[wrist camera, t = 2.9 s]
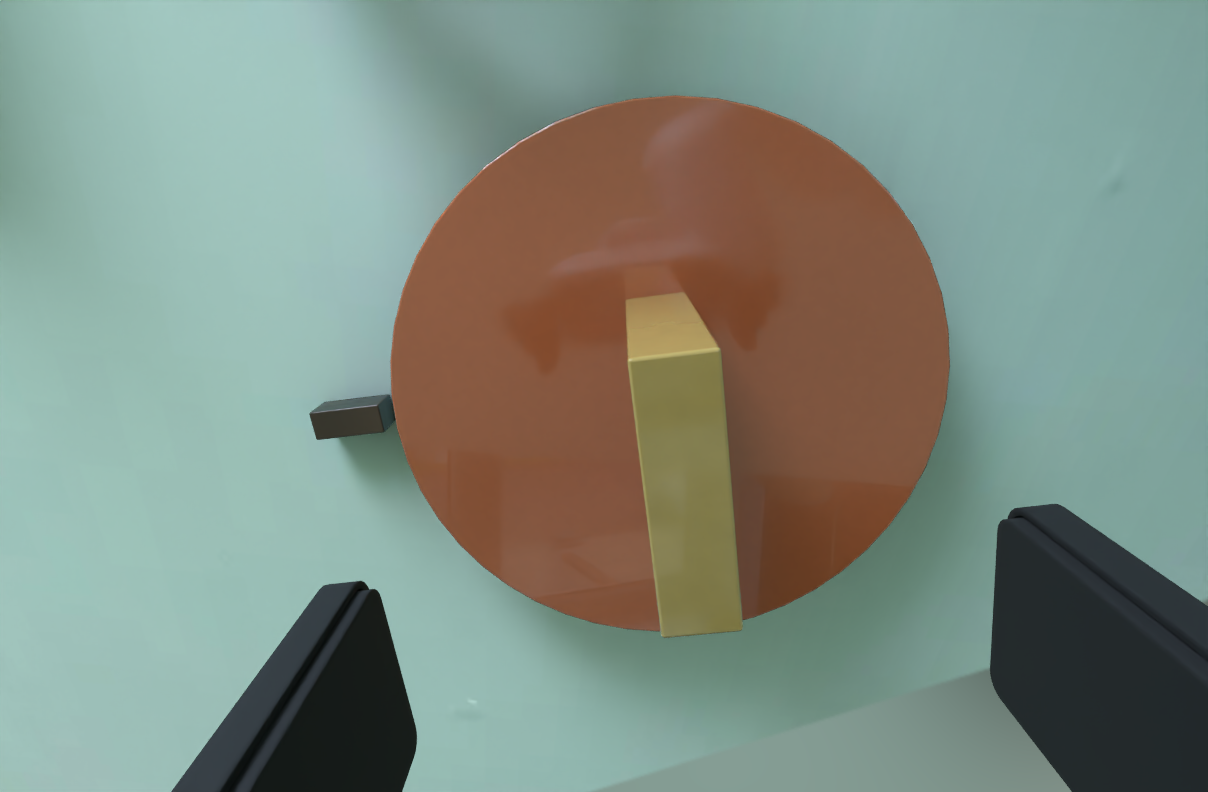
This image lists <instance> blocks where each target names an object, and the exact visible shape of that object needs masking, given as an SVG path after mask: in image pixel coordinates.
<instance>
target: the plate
mask: <svg viewBox="0 0 1208 792" xmlns="http://www.w3.org/2000/svg"><path fill="white" fill-rule="evenodd" d="M390 364H391V392H392V401H393V407H394V412H395V418H396V424H397V430H398V433H399V436H400V439H401V442H402V446H403V449H404V452H405V455H406V458H407V462H408V464H409V466H410V468H411V470H412V472H413V475H414V477H415V479H416V481H417V483H418V485H419V488H420V490H421V492H422V493H423V495H424V497H425V498H426V500H427V501H428V503H429V505H430V506H431V508H432V509H433V511H434V512H435V514H436V516H437V517H438V519H439V520H440V521H441V523H442V524H443V525H444V526H445V527H446V529H447V530H448V531H449V532H450V534H451V535H452V536H453V537H454V538H455V540H456V541H457V542H458V543H459V544H460V545H461V546H462V547H463V548H464V549H465V550H466V551H467V552H468V553H469V554H470V555H471V556H472V557H473V558H474V559H475V560H476V561H477V562H478V563H480V564H481V565H482V566H483V567H484V568H485V569H487V570H488V571H489V572H491V573H492V574H493V575H495V576H496V577H497V578H499V579H500V580H501V581H503V582H504V583H505V584H507V585H508V586H510V587H512V588H513V589H515V590H517V591H519V592H520V593H522V594H524V595H525V596H527V597H529V598H531V599H532V600H534V601H536V602H538V603H540V604H543V605H545V606H547V607H550V608H552V609H554V610H557V611H559V612H561V613H564V614H566V615H570V616H573V617H576V618H580V619H583V620H586V621H589V622H593V623H596V624H602V625H607V626H613V627H618V628H623V629H632V630H646V631H661V635H662V637H664V638H670V637H680V636H691V635H702V634H712V633H723V632H734V631H741V630H742V628H743V620H746V619H749V618H753V617H756V616H759V615H761V614H764V613H767V612H769V611H772V610H774V609H777V608H779V607H782V606H785V605H787V604H789V603H790V602H792V601H794V600H796V599H798V598H800V597H802V596H804V595H806V594H808V593H810V592H811V591H813V590H815V589H817V588H818V587H820V586H821V585H822V584H824V583H825V582H827V581H828V580H830V579H831V578H833V577H834V576H836V575H837V574H839V573H840V572H842V571H843V570H844V569H845V568H846V567H847V566H849V565H850V564H851V563H852V562H853V561H854V560H856V559H857V558H858V557H859V556H860V555H861V554H863V553H864V552H865V551H866V550H867V549H868V548H869V547H870V546H871V545H872V544H873V543H874V541H875V540H876V539H877V538H878V537H879V536H880V535H881V534H882V533H883V532H884V531H885V529H886V528H887V527H888V526H889V525H890V524H891V522H892V521H893V520H894V518H895V517H896V515H897V514H898V513H899V511H900V510H901V508H902V507H903V506H904V504H905V503H906V501H907V500H908V499H909V497H910V495H911V493H912V492H913V490H914V488H915V486H916V484H917V482H918V480H919V479H920V477H921V475H922V473H923V471H924V469H925V468H926V465H927V463H928V460H929V457H930V455H931V452H932V449H933V447H934V444H935V442H936V439H937V436H938V433H939V429H940V425H941V421H942V417H943V412H944V408H945V404H946V399H947V389H948V379H949V369H950V358H949V333H948V325H947V319H946V314H945V308H944V303H943V298H942V293H941V290H940V287H939V284H938V281H937V278H936V275H935V272H934V269H933V266H932V263H931V260H930V257H929V255H928V254H927V252H926V250H925V248H924V246H923V244H922V242H921V240H920V238H919V236H918V234H917V232H916V230H915V228H914V226H913V224H912V223H911V221H910V220H909V219H908V217H907V216H906V215H905V213H904V212H903V210H902V209H901V208H900V206H899V205H898V203H897V202H896V201H895V199H894V198H893V196H892V195H891V194H890V192H889V191H888V190H887V189H886V188H885V187H884V186H883V185H882V184H881V183H880V182H879V181H878V180H877V179H876V178H875V177H874V176H873V175H872V174H871V173H870V172H869V171H868V170H867V169H866V168H865V167H864V166H863V165H862V164H861V163H860V162H858V161H857V160H856V159H854V158H853V157H852V156H850V155H849V154H848V153H847V152H845V151H844V150H843V149H841V148H840V147H839V146H837V145H836V144H835V143H833V142H832V141H831V140H829V139H827V138H825V137H823V136H822V135H820V134H818V133H816V132H814V131H813V130H811V129H809V128H807V127H805V126H804V125H802V124H800V123H798V122H796V121H794V120H791V119H788V118H786V117H783V116H780V115H778V114H775V113H772V112H770V111H767V110H764V109H762V108H759V107H756V106H751V105H746V104H742V103H737V102H732V101H728V100H723V99H718V98H707V97H692V96H678V95H674V96H660V97H647V98H634V99H629V100H625V101H620V102H615V103H611V104H606V105H602V106H597V107H593V108H590V109H588V110H585V111H582V112H580V113H577V114H574V115H571V116H569V117H566V118H563V119H561V120H558V121H555V122H553V123H551V124H550V125H548V126H546V127H544V128H542V129H540V130H539V131H537V132H535V133H533V134H531V135H529V136H527V137H526V138H524V139H522V140H520V141H518V142H517V143H516V144H514V145H513V146H512V147H510V148H509V149H508V150H506V151H505V152H504V153H502V154H501V155H499V156H498V157H497V158H495V159H494V160H493V161H491V162H490V163H489V164H487V165H486V166H485V167H484V168H483V169H482V170H481V171H480V172H479V173H478V174H477V175H476V176H475V177H474V178H473V179H472V180H471V181H470V182H469V183H468V184H467V185H466V186H465V187H464V188H463V189H462V190H461V191H460V192H459V193H458V194H457V195H456V196H455V198H454V199H453V200H452V202H451V203H450V204H449V206H448V207H447V208H446V209H445V211H444V212H443V213H442V215H441V216H440V217H439V219H438V220H437V221H436V222H435V224H434V226H433V227H432V229H431V231H430V233H429V234H428V236H427V238H426V240H425V242H424V243H423V245H422V247H421V249H420V250H419V252H418V254H417V256H416V258H415V260H414V263H413V265H412V268H411V270H410V273H409V276H408V278H407V281H406V283H405V286H404V288H403V291H402V295H401V299H400V303H399V307H398V311H397V315H396V319H395V324H394V330H393V340H392V350H391V360H390Z"/></svg>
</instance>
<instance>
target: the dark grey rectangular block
mask: <svg viewBox="0 0 1208 792" xmlns="http://www.w3.org/2000/svg"><path fill="white" fill-rule="evenodd" d="M310 418H311V421H312V425H313V428H314V432H315V435H316V439H317V440H321V439H329V438H338V437H347V436H355V435H364V434H372V433H381V432H385V431H386V430H387V429H388V428H389V427H390V426H391V425H392V423H393V422H394V421H395V416H394V412H393V407H392V403H391V399H390V395H380V396H371V397H363V398H355V399H346V400H338V401H330V402H324V403H323V404H321V405H320V406H319V407H317V408H316V409H314V410H313V411H312V412H310Z"/></svg>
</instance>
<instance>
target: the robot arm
mask: <svg viewBox="0 0 1208 792" xmlns="http://www.w3.org/2000/svg"><path fill="white" fill-rule="evenodd" d="M990 674H991V679H992V683H993V686H994V688H995V690H996V692H997V694H998V696H999V697H1000V699H1001V700H1002V702H1003V703H1004V704H1005V705H1006V707H1007V708H1008V709H1009V711H1010V712H1011V713H1012V715H1013V716H1014V717H1015V718H1016V720H1017V721H1018V722H1019V724H1020V725H1021V726H1022V727H1023V729H1024V730H1025V731H1026V733H1027V734H1028V735H1029V736H1030V738H1031V739H1032V740H1033V742H1034V743H1035V744H1036V746H1037V747H1038V748H1039V750H1040V751H1041V752H1042V753H1043V754H1044V756H1045V757H1046V758H1047V760H1048V761H1049V763H1050V764H1051V765H1052V766H1053V768H1054V769H1055V770H1056V772H1057V773H1058V774H1059V775H1060V777H1061V778H1062V779H1063V781H1064V782H1065V783H1066V784H1067V786H1068V787H1069V788H1070V790H1071V791H1072V792H1208V606H1206V605H1205V604H1204V603H1202V602H1201V601H1199V600H1198V599H1196V598H1195V597H1193V596H1192V595H1191V594H1189V593H1188V592H1186V591H1185V590H1183V589H1182V588H1180V587H1179V586H1178V585H1176V584H1175V583H1173V582H1172V581H1170V580H1169V579H1167V578H1166V577H1164V576H1163V575H1162V574H1160V573H1159V572H1157V571H1156V570H1154V569H1153V568H1151V567H1150V566H1149V565H1147V564H1146V563H1144V562H1143V561H1141V560H1140V559H1138V558H1137V557H1136V556H1134V555H1133V554H1131V553H1130V552H1128V551H1127V550H1125V549H1124V548H1122V547H1121V546H1120V545H1118V544H1117V543H1115V542H1114V541H1112V540H1111V539H1109V538H1108V537H1107V536H1105V535H1104V534H1102V533H1101V532H1099V531H1098V530H1096V529H1095V528H1093V527H1092V526H1091V525H1089V524H1088V523H1086V522H1085V521H1083V520H1082V519H1080V518H1079V517H1078V516H1076V515H1075V514H1073V513H1072V512H1070V511H1069V510H1067V509H1066V508H1065V507H1063V506H1061V505H1058V504H1049V505H1040V506H1031V507H1022V508H1015V509H1013V510H1012V511H1011V512H1010V514H1009V516H1008V519H1004V520H1002V521H1001V522H1000V523H999V525H998V532H997V550H996V569H995V588H994V606H993V625H992V644H991V662H990ZM416 745H417V732H416V726H415V722H414V719H413V715H412V711H411V707H410V704H409V700H408V696H407V693H406V689H405V685H404V681H403V678H402V674H401V670H400V667H399V663H398V659H397V655H396V652H395V648H394V644H393V641H392V637H391V633H390V629H389V626H388V622H387V618H386V614H385V611H384V607H383V603H382V600H381V597H380V594H379V592H378V591H377V590H375V589H370V590H369V588H368V586H367V585H366V584H365V583H364V582H362V581H356V582H347V583H338V584H329V585H324V586H323V587H322V588H321V589H320V590H319V591H318V592H317V594H316V595H315V596H314V598H313V599H312V601H311V602H310V603H309V605H308V606H307V607H306V609H305V610H304V611H303V613H302V614H301V616H300V617H299V618H298V620H297V621H296V622H295V624H294V625H293V626H292V628H291V629H290V631H289V632H288V633H287V635H286V636H285V637H284V639H283V640H282V641H281V643H280V644H279V646H278V647H277V648H276V650H275V651H274V652H273V654H272V655H271V656H270V658H269V659H268V661H267V662H266V663H265V665H264V666H263V667H262V669H261V670H260V671H259V673H258V674H257V676H256V677H255V678H254V680H253V681H252V682H251V684H250V685H249V686H248V688H247V689H246V691H245V692H244V693H243V695H242V696H241V697H240V699H239V700H238V702H237V703H236V704H235V706H234V707H233V708H232V710H231V711H230V712H229V714H228V715H227V717H226V718H225V719H224V721H223V722H222V723H221V725H220V726H219V727H218V729H217V730H216V732H215V733H214V734H213V736H212V737H211V738H210V740H209V741H208V742H207V744H206V745H205V747H204V748H203V749H202V751H201V752H200V753H199V755H198V756H197V757H196V759H195V760H194V762H193V763H192V764H191V766H190V767H189V768H188V770H187V771H186V772H185V774H184V775H183V777H182V778H181V779H180V781H179V782H178V783H177V785H176V786H175V787H174V789H173V790H172V792H402V790H403V787H404V784H405V781H406V779H407V776H408V773H409V770H410V767H411V764H412V761H413V758H414V755H415V751H416Z"/></svg>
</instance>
